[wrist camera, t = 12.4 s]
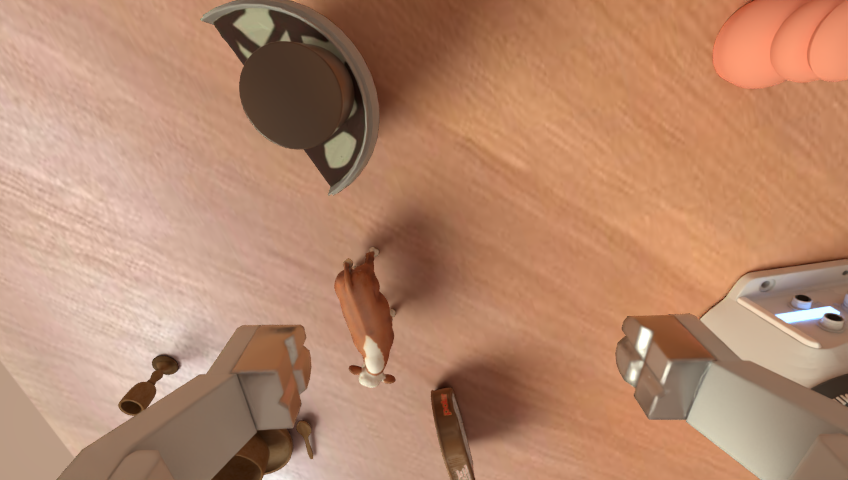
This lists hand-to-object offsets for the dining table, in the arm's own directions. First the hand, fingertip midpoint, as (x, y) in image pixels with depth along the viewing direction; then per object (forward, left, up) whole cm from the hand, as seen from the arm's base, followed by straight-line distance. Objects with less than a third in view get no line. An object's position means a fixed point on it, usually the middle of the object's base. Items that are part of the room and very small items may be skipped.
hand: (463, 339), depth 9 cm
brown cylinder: (+5, -7, -15) cm, 18 cm away
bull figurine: (+11, +13, -26) cm, 31 cm away
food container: (+5, -7, -26) cm, 27 cm away
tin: (+9, +34, -26) cm, 43 cm away
